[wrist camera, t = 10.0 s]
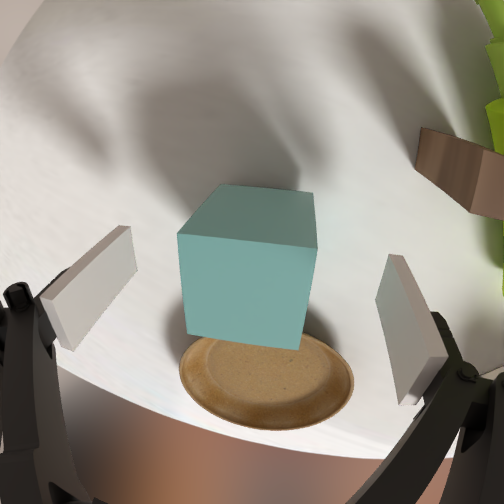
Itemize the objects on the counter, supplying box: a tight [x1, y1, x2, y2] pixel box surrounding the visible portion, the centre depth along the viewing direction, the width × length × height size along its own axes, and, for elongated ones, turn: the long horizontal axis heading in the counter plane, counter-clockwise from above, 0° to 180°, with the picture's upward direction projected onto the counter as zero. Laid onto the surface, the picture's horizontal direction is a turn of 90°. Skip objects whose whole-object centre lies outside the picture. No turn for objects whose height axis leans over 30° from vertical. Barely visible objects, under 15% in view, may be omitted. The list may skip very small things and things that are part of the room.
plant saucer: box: [179, 332, 354, 431], centre depth 24 cm, size 15×15×3 cm
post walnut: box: [415, 127, 504, 221], centre depth 12 cm, size 3×3×7 cm
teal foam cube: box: [177, 184, 318, 350], centre depth 15 cm, size 5×5×7 cm
